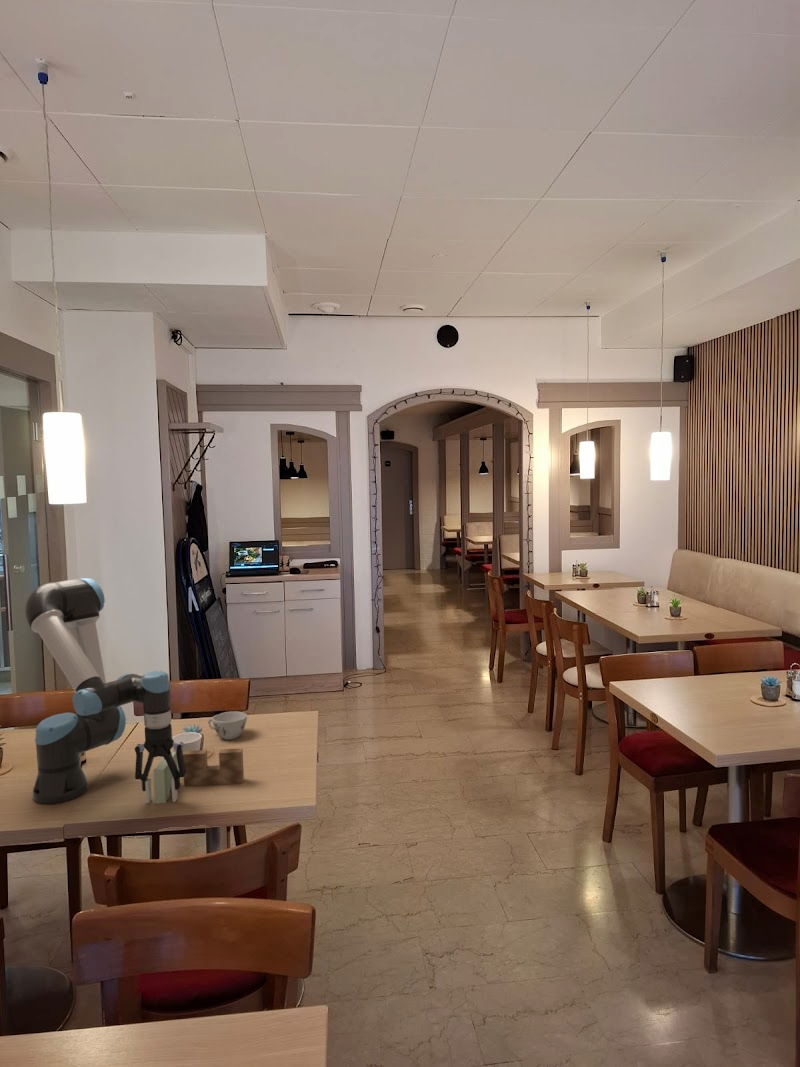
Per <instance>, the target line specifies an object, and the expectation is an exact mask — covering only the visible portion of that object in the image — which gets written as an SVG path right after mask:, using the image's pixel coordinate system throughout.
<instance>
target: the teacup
mask: <svg viewBox="0 0 800 1067" xmlns="http://www.w3.org/2000/svg"><path fill="white" fill-rule="evenodd" d="M247 720H248V715H247V713H246V712H243V711H239V710H238V711H236V710H235V711H225V712H221V713H219V714H215V715H214V716H212V717H209V718H208V720H207V722H208V727H209V728H210V729H211V730H214V731H215V732H216V734H217V735H218V736H220V737H221V738H222V739H223V740H226V741H231V740H236V739H238V737H240V735H241V734H242V733H243V731H244V730H245V727H246V724H247ZM211 722H212V725H213V726H212V725H211Z"/></svg>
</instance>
